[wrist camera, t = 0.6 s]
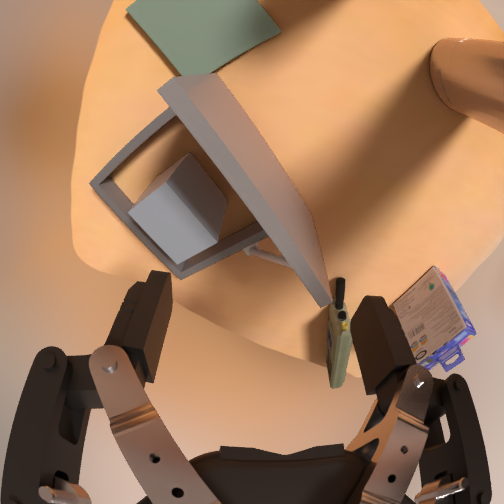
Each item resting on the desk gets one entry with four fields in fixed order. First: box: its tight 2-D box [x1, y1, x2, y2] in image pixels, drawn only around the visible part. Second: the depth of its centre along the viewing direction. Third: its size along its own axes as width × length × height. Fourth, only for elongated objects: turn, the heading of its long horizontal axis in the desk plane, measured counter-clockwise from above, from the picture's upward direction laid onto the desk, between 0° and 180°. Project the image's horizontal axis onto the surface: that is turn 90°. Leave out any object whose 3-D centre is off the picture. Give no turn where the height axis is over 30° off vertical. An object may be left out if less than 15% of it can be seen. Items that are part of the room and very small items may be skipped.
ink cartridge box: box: [393, 266, 476, 372], centre depth 32 cm, size 10×6×14 cm, turn 152°
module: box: [128, 152, 228, 265], centre depth 26 cm, size 5×7×8 cm
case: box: [89, 73, 333, 308], centre depth 24 cm, size 18×18×14 cm
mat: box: [126, 0, 282, 76], centre depth 17 cm, size 10×12×1 cm
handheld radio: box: [326, 278, 352, 389], centre depth 41 cm, size 7×3×25 cm
